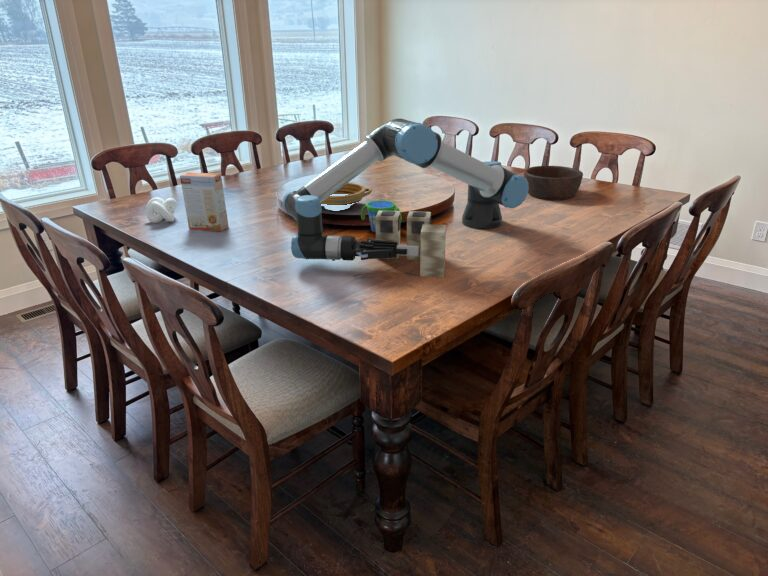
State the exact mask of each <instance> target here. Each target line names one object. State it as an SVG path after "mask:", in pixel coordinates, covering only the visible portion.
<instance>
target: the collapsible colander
mask: <svg viewBox="0 0 768 576" xmlns="http://www.w3.org/2000/svg"><path fill="white" fill-rule="evenodd" d="M371 193H372V188H370V187H367V188H366V186H364V185H362V184H359V183H355V182H350V181H349V182H348V183H347V184H345V185H344V186H343V187H341V188H340V189H339V190H337V191H336V192H335V193H333V194H348V195H345V196H329V197H328V198H326V199H325V200H324V201H322V202H321V204H327V205H347V204H352V203H356V202H358V203H360V202H361V201H362V200H363V198H365V197H367V196H369V195H371ZM359 201H360V202H359Z"/></svg>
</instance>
